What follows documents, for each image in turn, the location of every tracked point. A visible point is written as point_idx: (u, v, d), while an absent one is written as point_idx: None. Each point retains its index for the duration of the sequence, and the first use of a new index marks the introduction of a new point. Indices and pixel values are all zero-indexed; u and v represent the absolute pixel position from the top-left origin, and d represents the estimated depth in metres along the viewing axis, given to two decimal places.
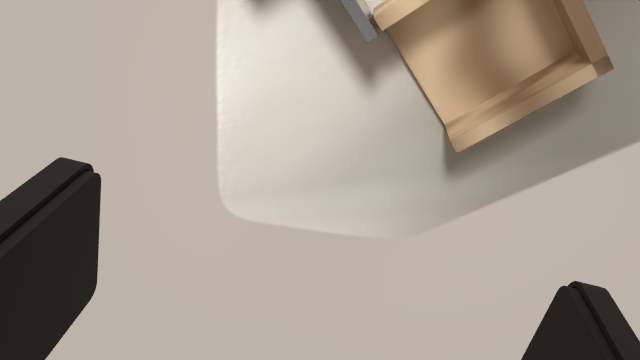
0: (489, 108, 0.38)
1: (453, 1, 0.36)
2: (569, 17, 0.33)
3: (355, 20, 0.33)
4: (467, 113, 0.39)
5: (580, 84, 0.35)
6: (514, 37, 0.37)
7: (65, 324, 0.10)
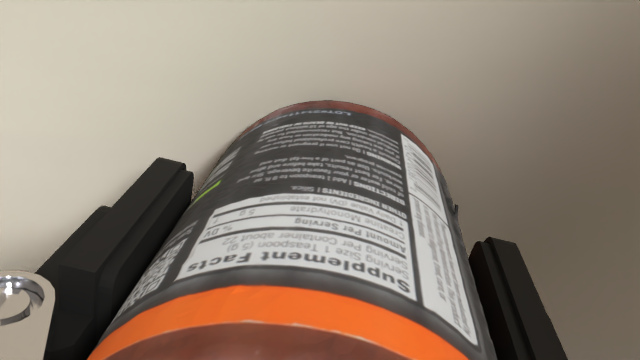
0: None
1: None
2: None
3: None
4: None
5: None
6: None
7: None
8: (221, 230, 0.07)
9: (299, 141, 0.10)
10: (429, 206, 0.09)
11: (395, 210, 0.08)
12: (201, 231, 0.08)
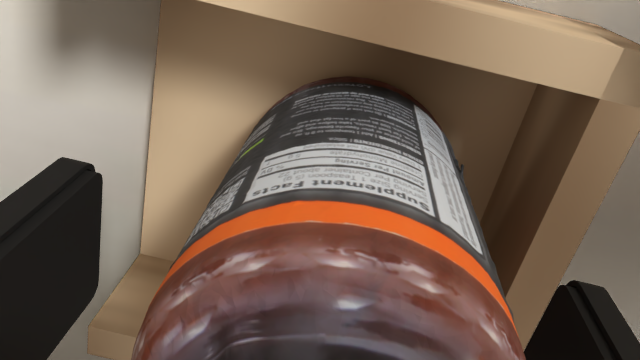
0: None
1: (333, 67, 0.14)
2: None
3: None
4: None
5: None
6: None
7: (67, 323, 0.10)
8: (275, 169, 0.09)
9: (329, 106, 0.11)
10: (440, 159, 0.11)
11: (414, 158, 0.10)
12: (256, 171, 0.09)
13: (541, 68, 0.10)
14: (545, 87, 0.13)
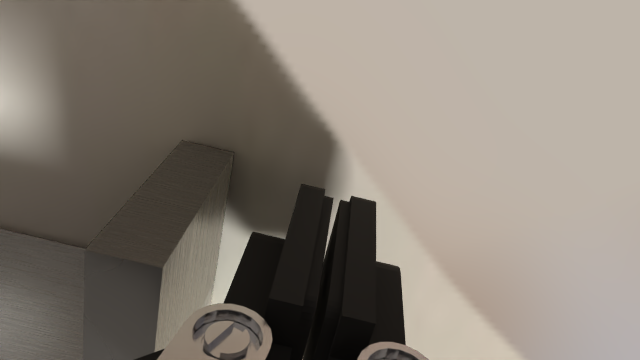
0: None
1: None
2: None
3: None
4: None
5: None
6: None
7: None
8: None
9: None
10: None
11: None
12: None
13: None
14: None
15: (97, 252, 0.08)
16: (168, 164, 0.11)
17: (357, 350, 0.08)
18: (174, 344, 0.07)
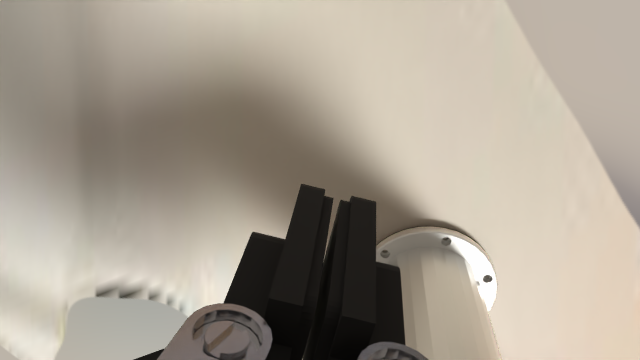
0: None
1: None
2: None
3: None
4: None
5: None
6: None
7: None
8: None
9: None
10: None
11: None
12: None
13: None
14: None
15: None
16: None
17: (357, 350, 0.08)
18: (174, 344, 0.07)
